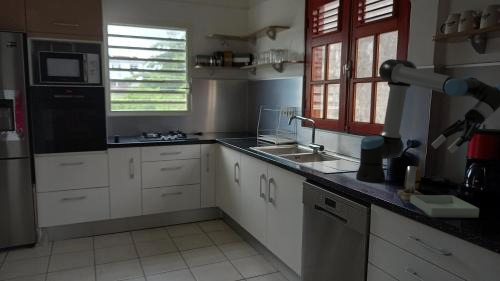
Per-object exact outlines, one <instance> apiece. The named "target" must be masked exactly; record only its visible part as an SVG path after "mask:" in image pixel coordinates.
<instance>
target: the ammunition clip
mask: <svg viewBox="0 0 500 281" xmlns="http://www.w3.org/2000/svg"><path fill="white" fill-rule="evenodd" d="M421 170H422V169H421V166H420V165H419V166H416V176H415V190H416V191H420V190H422V180H421V179H422V171H421ZM406 181H407V169H406V170H405V178H404V182H403V189H402V190H406Z"/></svg>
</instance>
